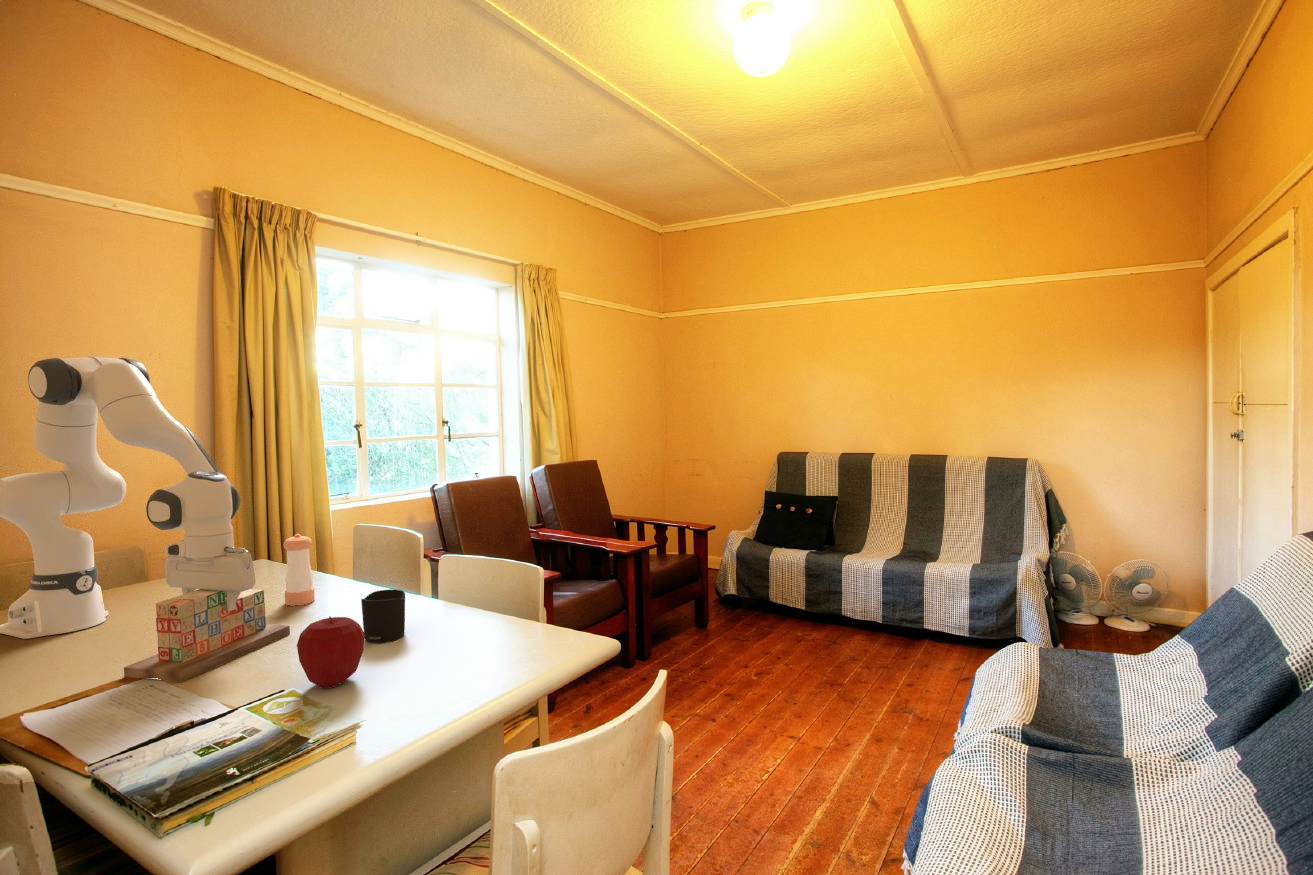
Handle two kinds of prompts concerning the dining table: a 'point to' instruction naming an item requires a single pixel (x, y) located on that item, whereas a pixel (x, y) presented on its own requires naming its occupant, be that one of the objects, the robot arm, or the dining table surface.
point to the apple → (331, 650)
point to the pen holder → (384, 616)
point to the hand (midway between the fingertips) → (211, 608)
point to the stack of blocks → (205, 622)
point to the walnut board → (204, 657)
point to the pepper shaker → (298, 571)
